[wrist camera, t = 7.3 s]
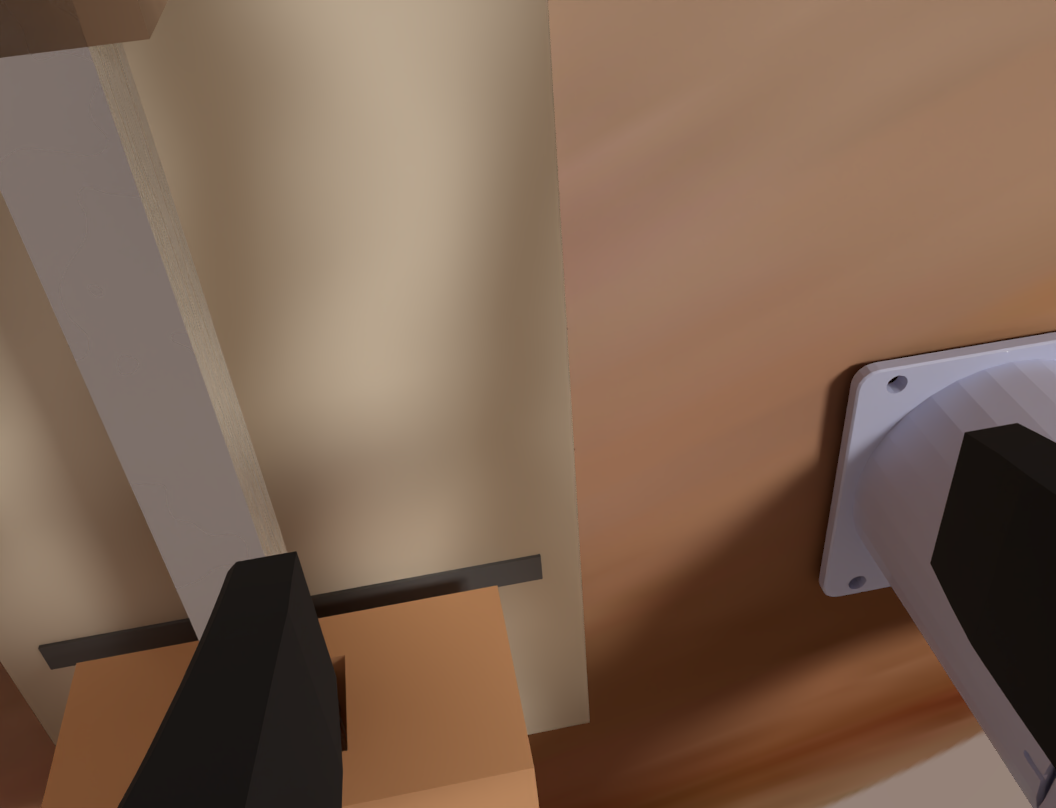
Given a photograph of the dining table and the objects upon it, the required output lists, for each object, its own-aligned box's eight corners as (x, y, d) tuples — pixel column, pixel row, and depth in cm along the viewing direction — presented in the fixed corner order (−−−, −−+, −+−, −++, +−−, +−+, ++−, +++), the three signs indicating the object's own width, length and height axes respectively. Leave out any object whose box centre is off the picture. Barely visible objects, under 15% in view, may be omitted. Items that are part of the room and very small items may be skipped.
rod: (77, -112, 12) (45, -86, 10) (381, 832, 25) (384, 897, 24) (-69, -96, 11) (-121, -68, 10) (315, 846, 25) (315, 912, 23)
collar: (497, 585, 22) (534, 767, 19) (511, 689, 25) (547, 869, 21) (76, 662, 21) (25, 871, 18) (134, 763, 24) (99, 965, 20)
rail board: (520, -273, 14) (603, -257, 10) (582, 694, 29) (627, 863, 25) (-486, -173, 13) (-863, -108, 9) (109, 787, 28) (73, 983, 23)
